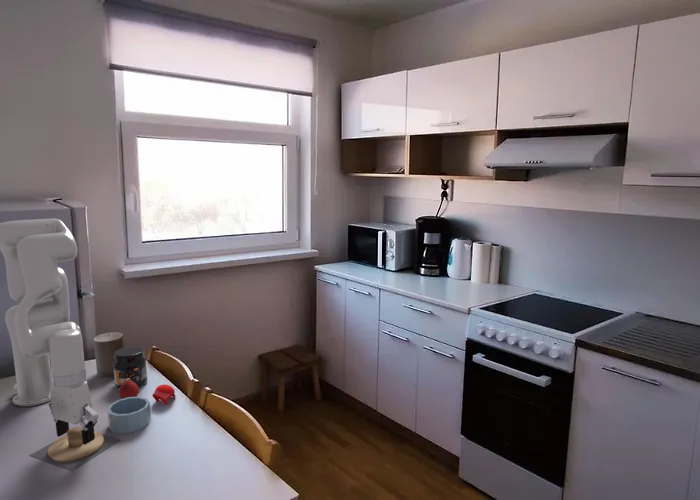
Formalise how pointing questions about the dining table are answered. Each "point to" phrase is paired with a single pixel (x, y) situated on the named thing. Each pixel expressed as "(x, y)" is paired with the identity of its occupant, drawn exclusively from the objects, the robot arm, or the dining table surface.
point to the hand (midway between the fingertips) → (75, 437)
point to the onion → (128, 389)
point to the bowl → (129, 414)
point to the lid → (74, 446)
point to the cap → (163, 393)
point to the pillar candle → (107, 352)
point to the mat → (72, 465)
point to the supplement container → (130, 366)
